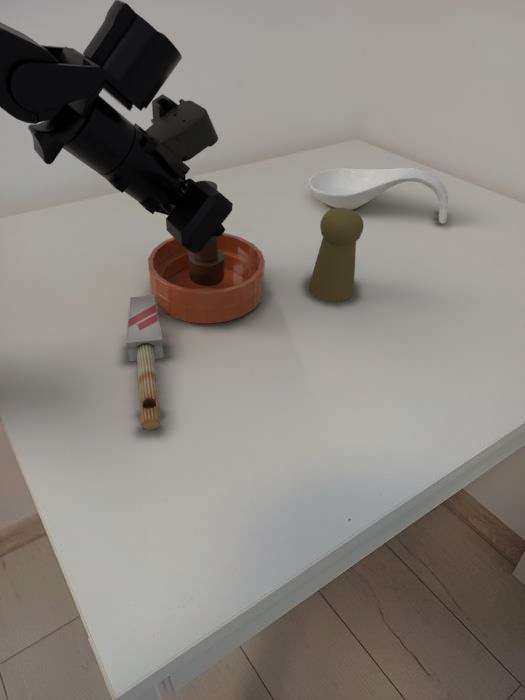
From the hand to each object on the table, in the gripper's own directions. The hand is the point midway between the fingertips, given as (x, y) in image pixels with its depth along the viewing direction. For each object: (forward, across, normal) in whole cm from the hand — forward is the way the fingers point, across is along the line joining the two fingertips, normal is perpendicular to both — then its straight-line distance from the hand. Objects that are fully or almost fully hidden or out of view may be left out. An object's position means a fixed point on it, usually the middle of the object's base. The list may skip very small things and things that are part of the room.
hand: (215, 227), depth 61 cm
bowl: (+6, 0, +7) cm, 9 cm away
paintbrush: (-3, -8, +16) cm, 18 cm away
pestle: (+4, 0, +6) cm, 7 cm away
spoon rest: (+32, +8, -19) cm, 38 cm away
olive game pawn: (+16, -7, -3) cm, 18 cm away
